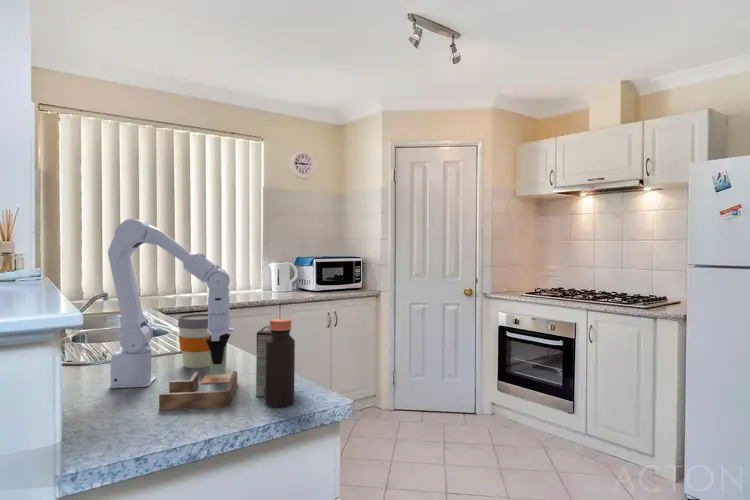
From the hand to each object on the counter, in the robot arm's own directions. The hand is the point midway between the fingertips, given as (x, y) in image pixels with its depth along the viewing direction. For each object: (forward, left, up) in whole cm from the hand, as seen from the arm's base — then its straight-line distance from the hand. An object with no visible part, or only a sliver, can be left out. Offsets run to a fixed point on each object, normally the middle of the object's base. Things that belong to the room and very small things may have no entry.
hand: (218, 361), depth 135 cm
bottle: (+17, -23, -5) cm, 29 cm away
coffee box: (+15, -13, -5) cm, 20 cm away
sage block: (0, 0, -3) cm, 3 cm away
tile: (0, 0, -5) cm, 5 cm away
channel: (-2, -14, -5) cm, 15 cm away
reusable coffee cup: (-8, +18, -5) cm, 20 cm away
